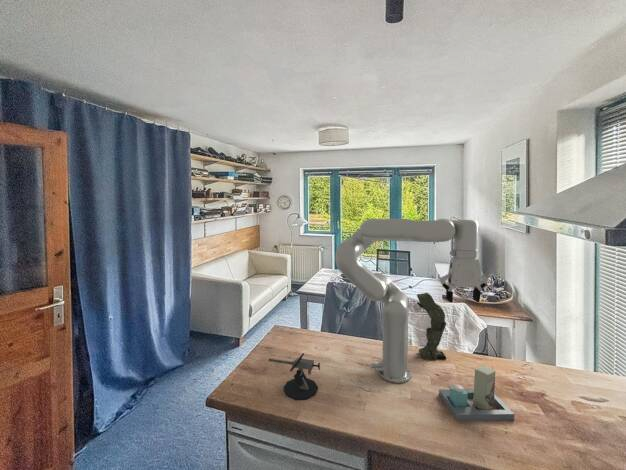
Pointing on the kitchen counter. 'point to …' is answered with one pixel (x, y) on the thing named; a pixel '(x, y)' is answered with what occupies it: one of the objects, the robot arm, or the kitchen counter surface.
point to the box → (484, 388)
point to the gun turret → (300, 379)
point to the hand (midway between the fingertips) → (462, 301)
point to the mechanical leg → (432, 327)
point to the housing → (472, 413)
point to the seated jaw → (458, 396)
